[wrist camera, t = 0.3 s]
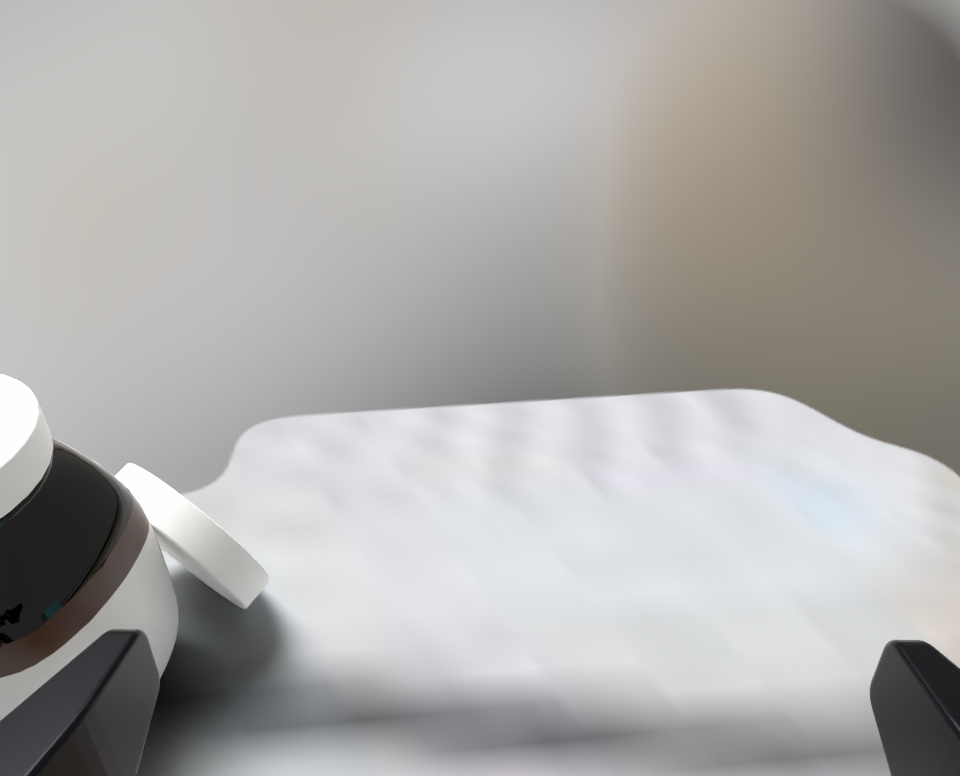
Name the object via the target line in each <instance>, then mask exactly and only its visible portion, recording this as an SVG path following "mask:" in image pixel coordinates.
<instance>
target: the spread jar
mask: <svg viewBox="0 0 960 776" xmlns="http://www.w3.org/2000/svg"><path fill="white" fill-rule="evenodd" d="M161 549H162V550H164V551H165V552H166V553H167V554H168V555H170V556H171V557H172V558H173V559H175V560H176V561H177V562H178V563H180V564H181V565H182V566H183V567H185V568H186V569H187V570H188V571H190V572H191V573H192V574H194V575H195V576H196V577H197V578H199V579H200V580H201V581H203V582H204V583H205V584H207V585H208V586H209V587H211V588H212V589H213V590H215V591H216V592H218V593H219V594H220V595H222V596H223V597H225V598H226V599H227V600H229V601H231V602H232V603H234V604H235V605H237V606H239V607H240V608H243V609H247V608H248V606H249V605H250V604H251V603H252V602H253V600H254V599H255V598H256V597H257V596H258V594H259V593H260V592H261V591H262V590H263V588H264V587H265V586H266V585H267V584H268V582H269V581H270V578H269V576H268V574H267V573H266V571H265V570H264V569H263V568H262V566H261V565H260V564H259V563H258V562H257V561H256V560H255V559H254V558H253V557H252V556H251V555H250V554H249V553H248V552H247V551H246V550H245V549H244V548H243V547H242V546H241V545H240V544H239V543H238V542H237V541H236V540H235V539H233V538H232V537H231V536H230V535H229V534H228V533H227V532H226V531H224V530H223V529H222V528H221V527H220V526H219V525H218V524H216V523H215V522H214V521H213V520H212V519H210V518H209V517H208V516H207V515H206V514H205V513H203V512H202V511H201V510H200V509H198V508H197V507H196V506H195V505H193V504H192V503H191V502H190V501H188V500H187V499H186V498H184V497H183V496H182V495H181V494H179V493H178V492H177V491H175V490H174V489H172V488H171V487H170V486H168V485H167V484H166V483H164V482H163V481H161V480H160V479H158V478H157V477H155V476H154V475H152V474H151V473H149V472H148V471H146V470H144V469H143V468H141V467H139V466H137V465H135V464H132V463H128V464H127V465H126V466H125V467H124V468H123V469H122V470H121V471H120V472H119V473H118V474H117V475H116V476H114V475H113V474H111V473H110V472H109V471H108V470H106V469H105V468H104V467H102V466H101V465H100V464H98V463H97V462H95V461H94V460H92V459H90V458H88V457H87V456H85V455H84V454H82V453H81V452H79V451H77V450H76V449H74V448H72V447H71V446H68V445H67V444H65V443H63V442H61V441H59V440H57V439H55V438H53V437H52V435H51V432H50V430H49V427H48V425H47V422H46V420H45V418H44V415H43V413H42V410H41V408H40V405H39V403H38V401H37V399H36V397H35V396H34V394H33V392H32V391H31V389H29V388H28V387H27V386H25V385H24V384H23V383H22V382H20V381H18V380H16V379H13V378H11V377H8V376H6V375H2V374H0V720H2V719H3V718H4V717H5V716H6V715H8V714H9V713H10V712H11V711H12V710H13V709H15V708H16V707H17V706H18V705H19V704H21V703H22V702H23V701H24V700H25V699H26V698H28V697H29V696H30V695H31V694H32V693H34V692H35V691H36V690H37V689H38V688H39V687H41V686H42V685H43V684H44V683H45V682H47V681H48V680H49V679H50V678H51V677H52V676H54V675H55V674H56V673H57V672H58V671H60V670H61V669H62V668H63V667H64V666H65V665H67V664H68V663H69V662H70V661H71V660H73V659H74V658H75V657H76V656H77V655H78V654H80V653H81V652H82V651H83V650H84V649H86V648H87V647H88V646H89V645H90V644H91V643H93V642H94V641H95V640H96V639H97V638H99V637H100V636H101V635H102V634H103V633H105V632H107V631H109V630H111V629H140V630H142V631H144V632H145V633H146V635H147V637H148V640H149V643H150V646H151V649H152V652H153V655H154V658H155V662H156V665H157V668H158V671H159V677H160V680H161V678H162V675H163V673H164V671H165V668H166V666H167V663H168V661H169V658H170V656H171V653H172V650H173V647H174V644H175V641H176V636H177V630H178V605H177V599H176V594H175V591H174V587H173V584H172V580H171V577H170V574H169V572H168V569H167V566H166V563H165V560H164V557H163V554H162V551H161Z"/></svg>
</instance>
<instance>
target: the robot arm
mask: <svg viewBox="0 0 960 776" xmlns="http://www.w3.org/2000/svg"><path fill="white" fill-rule="evenodd" d="M159 685H160V677H159V671H158V668H157V665H156V662H155V658H154V655H153V652H152V649H151V646H150V643H149V640H148V637H147V635H146V633H145V632H144V631H142V630H140V629H111V630H109V631H107V632H105V633H103V634H102V635H101V636H100V637H99V638H97V639H96V640H95V641H94V642H93V643H91V644H90V645H89V646H88V647H87V648H86V649H84V650H83V651H82V652H81V653H80V654H78V655H77V656H76V657H75V658H74V659H73V660H71V661H70V662H69V663H68V664H67V665H65V666H64V667H63V668H62V669H61V670H60V671H58V672H57V673H56V674H55V675H54V676H52V677H51V678H50V679H49V680H48V681H47V682H45V683H44V684H43V685H42V686H41V687H39V688H38V689H37V690H36V691H35V692H34V693H32V694H31V695H30V696H29V697H28V698H26V699H25V700H24V701H23V702H22V703H21V704H19V705H18V706H17V707H16V708H15V709H13V710H12V711H11V712H10V713H9V714H8V715H6V716H5V717H4V718H3V719H2V720H0V776H136V774H137V770H138V767H139V763H140V759H141V756H142V752H143V748H144V744H145V741H146V737H147V733H148V729H149V726H150V722H151V718H152V715H153V711H154V707H155V703H156V700H157V696H158V692H159ZM870 700H871V705H872V709H873V713H874V716H875V720H876V723H877V727H878V730H879V734H880V737H881V741H882V744H883V748H884V752H885V755H886V759H887V762H888V766H889V769H890V773H891V776H960V668H958V667H957V666H956V665H955V664H954V663H952V662H951V661H950V660H949V659H948V658H946V657H945V656H944V655H943V654H941V653H940V652H939V651H938V650H937V649H935V648H934V647H933V646H931V645H930V644H928V643H926V642H924V641H920V640H892V641H890V642H888V643H887V644H886V646H885V647H884V650H883V652H882V655H881V658H880V660H879V663H878V666H877V668H876V671H875V674H874V676H873V679H872V681H871V685H870Z"/></svg>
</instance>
